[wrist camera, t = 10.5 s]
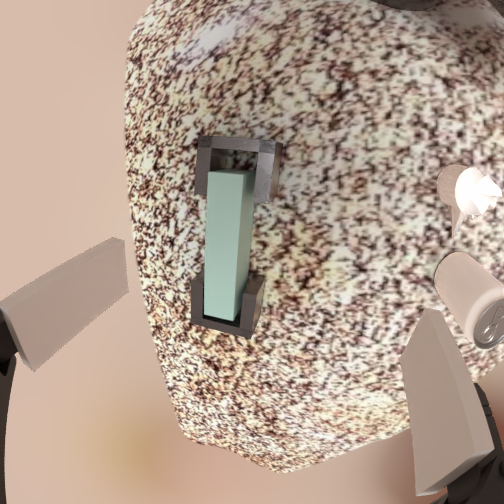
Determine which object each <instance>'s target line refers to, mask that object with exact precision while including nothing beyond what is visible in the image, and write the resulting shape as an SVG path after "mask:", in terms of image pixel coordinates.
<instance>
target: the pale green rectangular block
mask: <svg viewBox="0 0 504 504" xmlns="http://www.w3.org/2000/svg"><path fill="white" fill-rule="evenodd" d="M255 180H256V171H251V170H240V169H229V168H227V169H221V170H216V171H210V172H208V187H207V207H206V233H205V275H204V314H205V315H209V316H213V317H218V318H222V319H226V320H231V321H233V320H234V318H235V317H236V315H237V313H238V311H239V309H240V307H241V306H242V300H243V292H244V291H245V289H246V287H247V282H248V271H249V260H250V248H251V237H252V226H253V214H254V203H255V202H253V198H254V189H255Z"/></svg>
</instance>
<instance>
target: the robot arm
mask: <svg viewBox="0 0 504 504" xmlns="http://www.w3.org/2000/svg"><path fill="white" fill-rule="evenodd" d="M373 1H375V2H378V3H381V4H383V5H386V6H390V7H393V8H398V9H403V10H424V9H428V8H430V7H432V6H434V5H435V4H437V3H438V1H439V0H373ZM487 1H488V2H489V3H490V4H491V5H492V6H493V7H494V8H495V9H496V10H497V11H498V12H499V13H500V15H501V16H502V17H503V18H504V0H487ZM127 293H128V282H127V272H126V260H125V245H124V240H121V239H117V238H113V237H112V238H110V239H108V240H106V241H104V242H102V243H100V244H98V245H96V246H94V247H93V248H91V249H89V250H87V251H85V252H83V253H81V254H79V255H77V256H76V257H74V258H72V259H70V260H68V261H67V262H65V263H63V264H61V265H60V266H58V267H56V268H54V269H52V270H51V271H49V272H47V273H45V274H44V275H42V276H40V277H39V278H37V279H35V280H34V281H32V282H30V283H29V284H27V285H26V286H24V287H22V288H21V289H19V290H17V291H16V292H14V293H13V294H11V295H10V296H8V297H6V298H5V299H3V300H2V301H0V504H6V493H5V476H4V475H5V472H4V456H5V434H6V422H7V413H8V406H9V399H10V393H11V387H12V381H13V376H14V371H15V367H16V357H15V355H14V354H15V353H16V352H19V354H20V356H21V359H22V360H23V363H24V364H26V365H27V366H28V367H29V368H30V369H31V370H33V372H35V371H36V370H37V369H38V368H39V367H40V366H41V365H42V364H44V363H45V362H46V361H47V360H48V359H49V358H50V357H51V356H53V354H55V353H56V352H57V351H58V350H59V349H61V348H62V347H63V346H64V345H65V344H66V343H67V342H69V341H70V340H71V339H72V338H73V337H74V336H76V335H77V334H78V333H79V332H80V331H81V330H83V329H84V328H85V327H86V326H87V325H89V324H90V323H91V322H92V321H93V320H95V319H96V318H97V317H98V316H99V315H101V314H102V313H103V312H104V311H106V310H107V309H108V308H109V307H110V306H112V305H113V304H114V303H115V302H117V300H119V299H120V298H122V297H123V296H124V295H125V294H127ZM399 360H400V365H401V370H402V375H403V380H404V386H405V391H406V397H407V403H408V410H409V417H410V424H411V432H412V441H413V452H414V465H415V485H416V496H421V495H428V494H435V493H437V492H438V491H440V490H442V489H443V488H445V487H446V486H447V489H448V493H447V494H445V495H444V496H442V497H440V498H439V499H437V500H435V501H433V502H432V503H431V504H504V450H503V447H502V444H501V440H500V437H499V433H498V430H497V427H496V423H495V420H494V417H492V411H491V409H490V407H489V403H488V400H487V398H486V395H485V393H484V392H483V390H482V389H481V388H480V386H479V385H478V384H477V383H473V381H472V378H471V376H470V373H469V371H468V368H467V366H466V364H465V361H464V359H463V357H462V355H461V352H460V350H459V348H458V346H457V344H456V342H455V340H454V337H453V335H452V333H451V331H450V329H449V327H448V325H447V323H446V321H445V319H444V317H443V316H442V314H441V312H440V311H439V310H433V309H428V308H425V309H424V311H423V313H422V316H421V318H420V320H419V322H418V324H417V326H416V328H415V330H414V332H413V334H412V336H411V338H410V340H409V342H408V344H407V346H406V348H405V350H404V352H403V354H402V355H401V357H400V359H399Z"/></svg>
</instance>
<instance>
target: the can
mask: <svg viewBox="0 0 504 504" xmlns="http://www.w3.org/2000/svg"><path fill="white" fill-rule="evenodd" d="M434 284H435V288H436V290H437V292H438V294H439V295H440V297H441V298H442V300H443V301H444V303H445V304H446V306H447V307H448V309H449V310H450V312H451V314H452V315H453V317H454V318H455V320H456V321H457V323H458V325H459V326H460V328H461V329H462V331H463V333H464V334H465V336H466V337H467V338H468V340H469V341H471V342H472V343H475V345H476V346H477V347H478V348H481V349H489V348H492V347H494V346H496V345H497V344H499V343H500V342H501V341H503V340H504V286H503V285H502V284H501V283H500V282H499V281H498V280H497V279H496V278H495V277H494V276H493V275H491V274H490V273H489V272H488V271H487V270H486V269H485V268H484V267H483V266H481V265H480V264H479V263H478V262H477V261H476V260H474V259H473V258H472V257H471V256H469V255H468V254H467V253H464V252H454V253H451V254H449V255H448V256H446V257H445V258H444V259H443V260H442V261H441V263H440V264H439V266H438V268H437V270H436V273H435V277H434Z"/></svg>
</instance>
